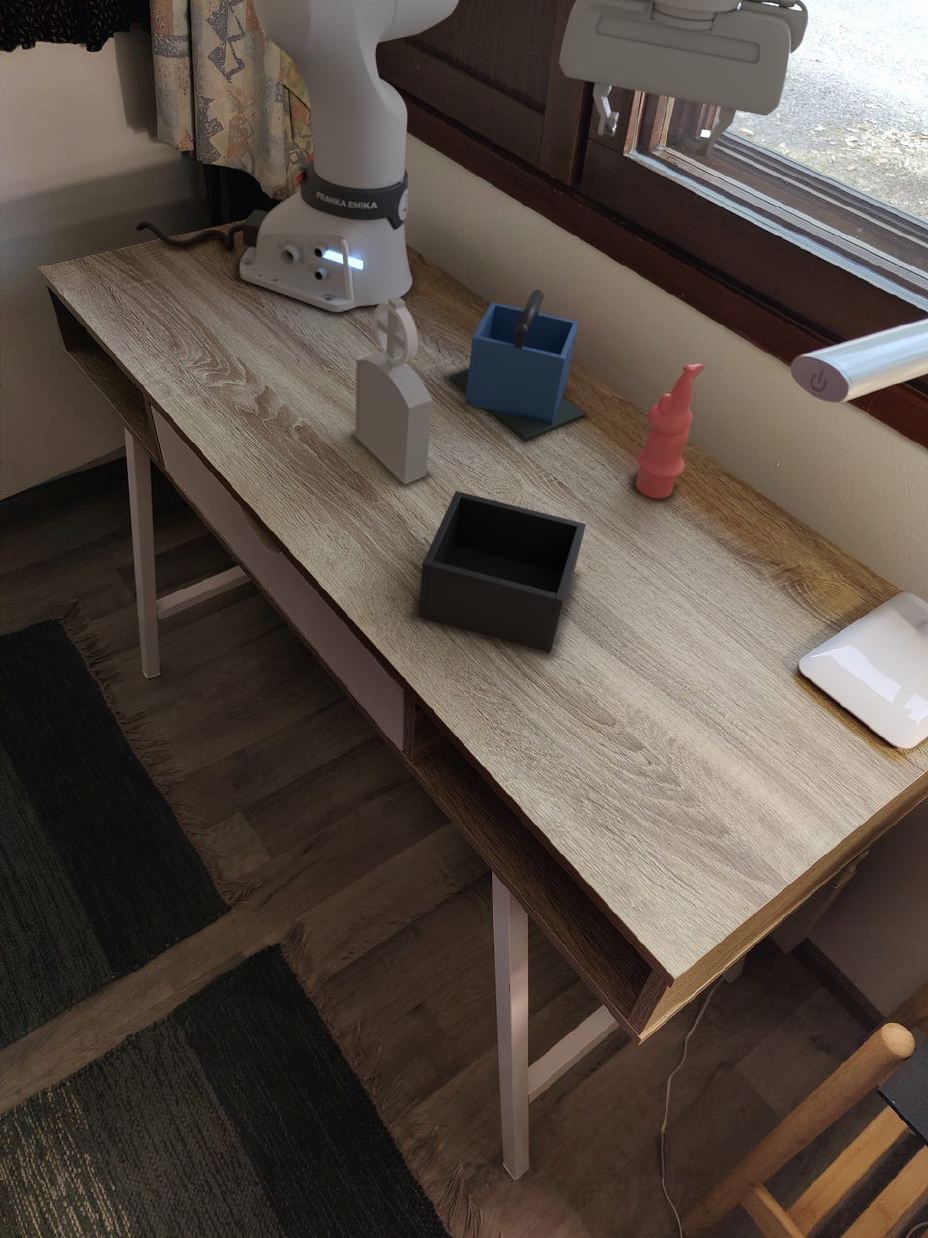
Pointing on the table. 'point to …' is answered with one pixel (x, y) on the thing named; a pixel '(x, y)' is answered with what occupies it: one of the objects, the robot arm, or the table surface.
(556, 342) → the blue bin
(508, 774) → the table surface
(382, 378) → the gravestone
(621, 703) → the table surface
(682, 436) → the figurine
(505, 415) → the mat
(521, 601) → the charcoal bin
